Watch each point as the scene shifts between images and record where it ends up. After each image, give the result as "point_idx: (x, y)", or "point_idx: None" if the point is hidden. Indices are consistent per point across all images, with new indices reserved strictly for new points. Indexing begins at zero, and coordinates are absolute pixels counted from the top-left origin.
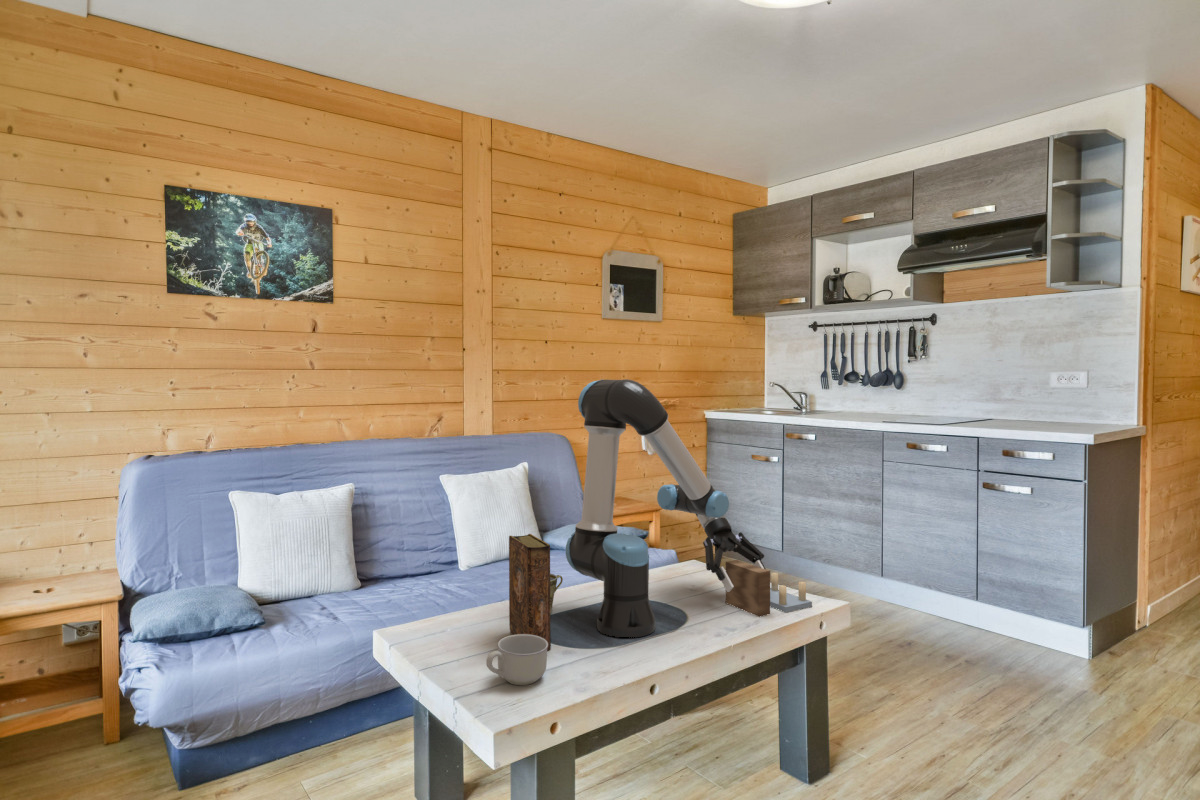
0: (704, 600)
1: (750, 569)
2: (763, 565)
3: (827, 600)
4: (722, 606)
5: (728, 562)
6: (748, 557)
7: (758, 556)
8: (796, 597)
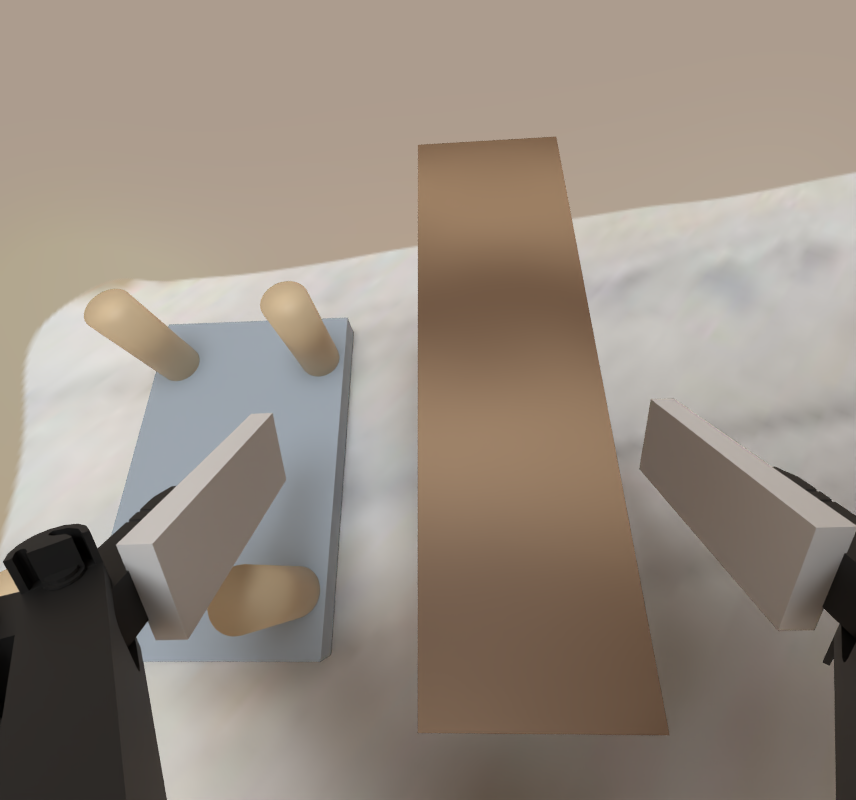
0: (650, 781)
1: (560, 240)
2: (130, 521)
3: (37, 374)
4: None
5: (643, 656)
6: (143, 724)
7: (36, 599)
8: (164, 407)
